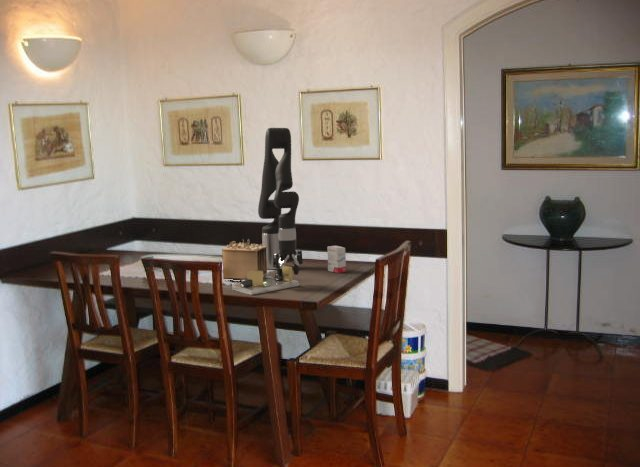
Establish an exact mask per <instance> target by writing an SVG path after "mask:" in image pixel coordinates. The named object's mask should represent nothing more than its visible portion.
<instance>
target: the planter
mask: <svg viewBox="0 0 640 467" xmlns="http://www.w3.org/2000/svg"><path fill="white" fill-rule="evenodd" d="M221 253H222V254H221V257H222V276H223V277H222V278H223V280H224V279H233V280H241V279H244V278H248V277H247V271H260V270H263V276H264V279H268V278H274V277H273V276H271V275H268V269H267V246H262V243H260V244H258V243H250V239H249V238H248V239H247V242H245V240H244V239H242V242H241V241H239V243H238V242H236V241H235V240H233V241H229V244H226V247H223V248H222V249H221Z"/></svg>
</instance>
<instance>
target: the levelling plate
mask: <svg viewBox="0 0 640 467" xmlns="http://www.w3.org/2000/svg"><path fill="white" fill-rule="evenodd" d="M299 286H300V281H299V280H295V279H292V281H290V282H289V281H284V280H275V276H274V277H273V278H268V279H264V276H263V285H257V286H247V287H245V286H241V282H239V283H236V284H232V285H231V290H232V291H236V292H240V293H242V294H246V295H250V296H253V295H260V294H264V293H270V292H274V291H279V290H284V289H289V288H295V287H299Z"/></svg>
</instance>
